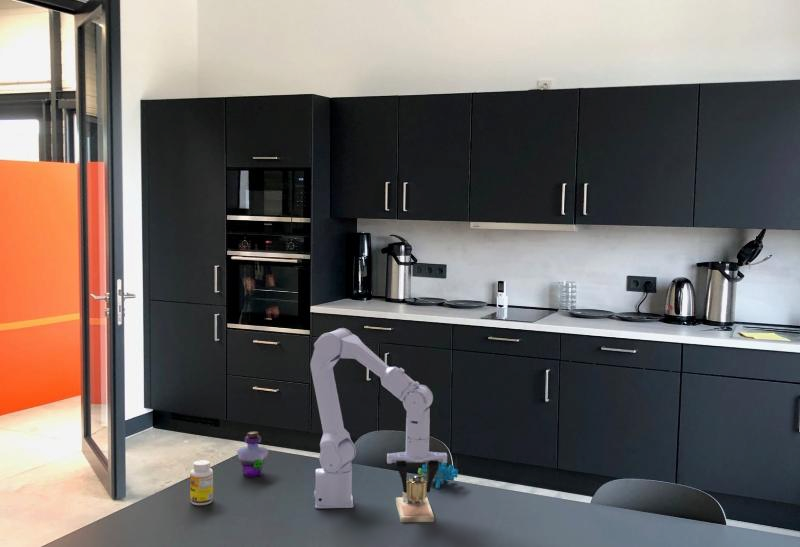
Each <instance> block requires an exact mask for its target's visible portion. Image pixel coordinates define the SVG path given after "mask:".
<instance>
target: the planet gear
mask: <svg viewBox="0 0 800 547" xmlns="http://www.w3.org/2000/svg"><path fill="white" fill-rule="evenodd" d="M406 482H407V493H406V498H409V500H416V501H419V500H425V498H428V496H427V495H428V494H427V493H428V492H427V481H426V480H425V479H422V478H421V475H420V474H419V475H418V474H414V475H412V478H408V479H407V480H406Z"/></svg>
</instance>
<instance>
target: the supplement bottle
mask: <svg viewBox="0 0 800 547" xmlns="http://www.w3.org/2000/svg"><path fill="white" fill-rule="evenodd" d="M210 464H211V462H210V461H209V460H206V459H200V460H196V461H194V462H193V468H192V469H191V470H190V472H189V473H190V475H189V476H190V480H189V482H190V483H189V488H190V490H189V493H190V494H189V496H190V498H189V500H190V503H191V504H192V505H194V506H195V505H196V506H207V505H208V504H209V505H210V504H211V503H213V498H214V470H213V469H212V468H211V466H210Z"/></svg>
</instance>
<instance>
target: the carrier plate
mask: <svg viewBox="0 0 800 547" xmlns="http://www.w3.org/2000/svg"><path fill="white" fill-rule="evenodd" d="M395 503H396V508H397V512H398V517H399V520H400V522H401V523H433V522H435V516H434V513H433V511H432V507H431V504H430V501H429V499H428V497H427V498H425V500H423V501H421V503H420V504H419V503H415V505H412V504H411V503H408V504H406V503H405V501H403V496H402V497H400V496H399V497H395Z"/></svg>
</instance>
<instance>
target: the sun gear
mask: <svg viewBox="0 0 800 547" xmlns="http://www.w3.org/2000/svg"><path fill="white" fill-rule="evenodd" d="M402 497H403V501H405V503H406V504H408V503H411V504H412V505H415V503H419V504H420V503H421V501H423V500H419V501H416V500H409V498H406V493H404V492H403V491H402Z"/></svg>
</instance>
